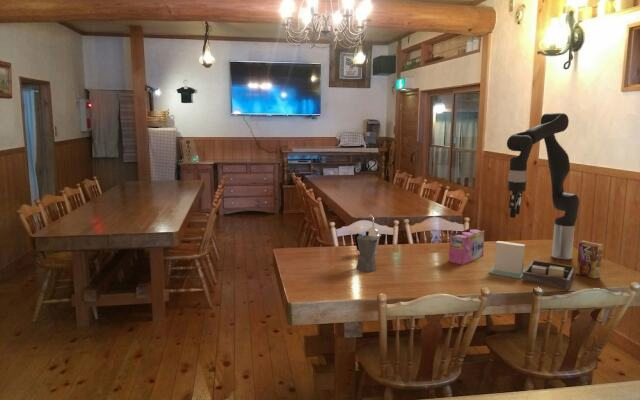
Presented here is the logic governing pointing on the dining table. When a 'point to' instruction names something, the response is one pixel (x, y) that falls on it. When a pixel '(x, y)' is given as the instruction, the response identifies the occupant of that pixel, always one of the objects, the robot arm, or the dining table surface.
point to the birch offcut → (556, 271)
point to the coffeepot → (366, 252)
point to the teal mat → (506, 273)
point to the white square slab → (509, 257)
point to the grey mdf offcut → (539, 270)
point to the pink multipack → (466, 246)
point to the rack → (547, 279)
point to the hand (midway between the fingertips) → (514, 215)
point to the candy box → (589, 259)
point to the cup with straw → (374, 234)
